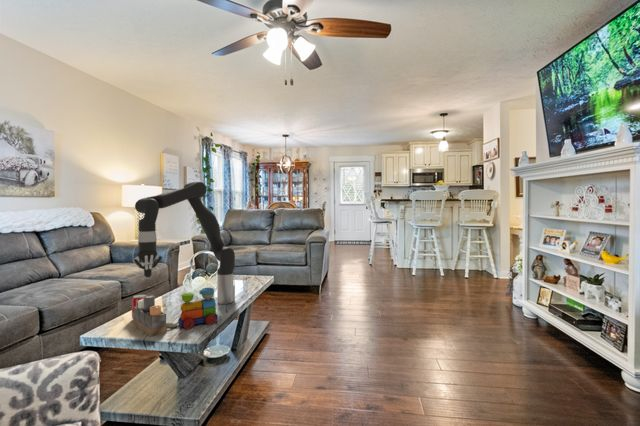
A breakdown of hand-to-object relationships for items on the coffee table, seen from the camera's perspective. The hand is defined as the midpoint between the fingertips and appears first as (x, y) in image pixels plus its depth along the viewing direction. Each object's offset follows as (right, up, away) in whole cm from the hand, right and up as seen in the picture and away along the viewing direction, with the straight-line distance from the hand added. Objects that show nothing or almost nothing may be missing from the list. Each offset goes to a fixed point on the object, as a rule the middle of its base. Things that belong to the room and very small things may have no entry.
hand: (147, 277), depth 150 cm
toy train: (+18, -25, +5) cm, 31 cm away
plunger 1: (-5, -19, +5) cm, 20 cm away
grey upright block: (+1, -16, 0) cm, 16 cm away
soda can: (-11, -24, +12) cm, 29 cm away
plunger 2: (+6, -19, -5) cm, 21 cm away
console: (+1, -24, 0) cm, 24 cm away
